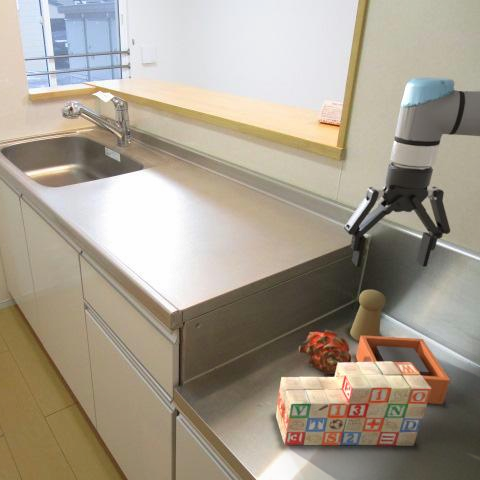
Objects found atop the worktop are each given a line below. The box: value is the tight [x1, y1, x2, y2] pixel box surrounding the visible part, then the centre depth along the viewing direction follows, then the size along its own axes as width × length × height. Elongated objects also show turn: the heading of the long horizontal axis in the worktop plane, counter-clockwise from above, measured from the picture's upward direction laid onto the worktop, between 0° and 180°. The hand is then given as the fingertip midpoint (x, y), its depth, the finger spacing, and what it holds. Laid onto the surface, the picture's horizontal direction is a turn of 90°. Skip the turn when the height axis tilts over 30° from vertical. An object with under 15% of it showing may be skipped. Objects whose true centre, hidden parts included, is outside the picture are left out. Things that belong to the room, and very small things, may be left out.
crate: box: [355, 335, 451, 405], centre depth 87 cm, size 12×12×6 cm
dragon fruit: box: [298, 329, 352, 375], centre depth 90 cm, size 8×8×12 cm
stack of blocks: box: [275, 361, 431, 447], centre depth 74 cm, size 21×6×12 cm, turn 90°
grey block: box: [375, 346, 429, 376], centre depth 87 cm, size 7×7×4 cm
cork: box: [349, 289, 386, 342], centre depth 98 cm, size 6×6×11 cm
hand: (388, 263), depth 94 cm, fingers open, 13 cm apart
